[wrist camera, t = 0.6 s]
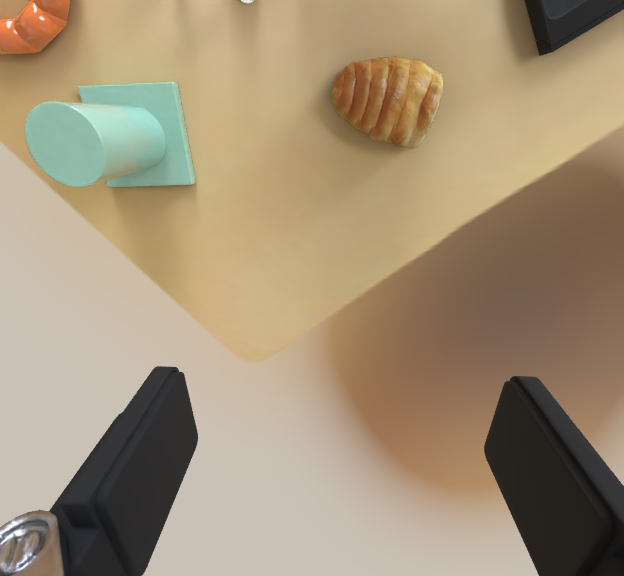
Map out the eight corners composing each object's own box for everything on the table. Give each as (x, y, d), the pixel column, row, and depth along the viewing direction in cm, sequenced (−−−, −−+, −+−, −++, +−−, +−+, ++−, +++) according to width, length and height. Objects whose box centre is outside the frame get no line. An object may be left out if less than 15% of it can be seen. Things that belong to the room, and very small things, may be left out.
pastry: (324, 127, 33) (323, 128, 29) (341, 44, 30) (342, 34, 26) (418, 150, 33) (428, 153, 30) (444, 70, 30) (459, 64, 27)
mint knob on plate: (85, 87, 32) (-26, 74, 22) (177, 83, 32) (106, 68, 22) (113, 185, 36) (30, 211, 26) (196, 182, 36) (143, 209, 26)
